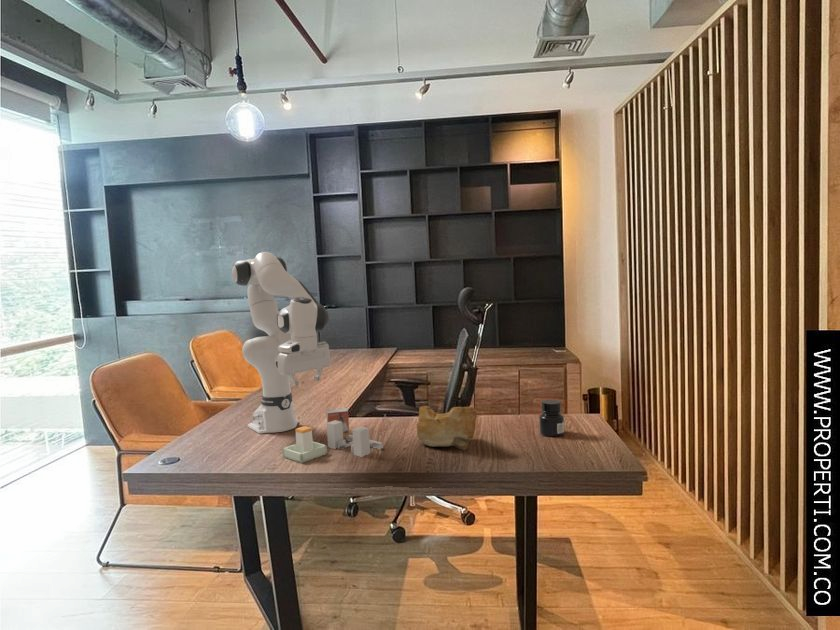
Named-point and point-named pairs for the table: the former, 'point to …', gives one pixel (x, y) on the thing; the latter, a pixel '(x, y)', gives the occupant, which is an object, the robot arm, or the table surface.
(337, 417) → the small box
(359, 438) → the block
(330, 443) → the block
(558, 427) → the ink bottle
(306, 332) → the robot arm
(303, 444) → the block
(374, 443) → the rail
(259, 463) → the table surface
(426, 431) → the rough brown rock
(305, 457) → the tray
